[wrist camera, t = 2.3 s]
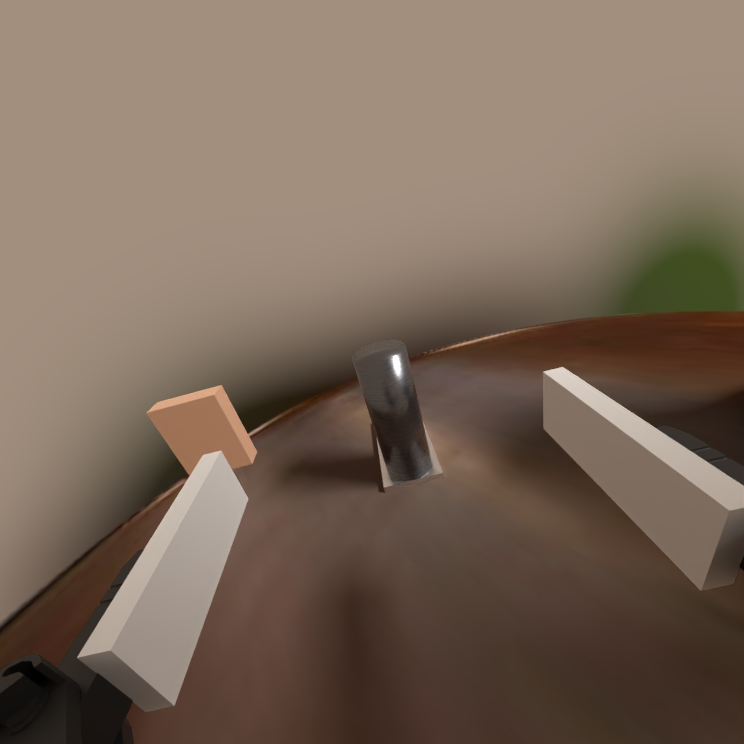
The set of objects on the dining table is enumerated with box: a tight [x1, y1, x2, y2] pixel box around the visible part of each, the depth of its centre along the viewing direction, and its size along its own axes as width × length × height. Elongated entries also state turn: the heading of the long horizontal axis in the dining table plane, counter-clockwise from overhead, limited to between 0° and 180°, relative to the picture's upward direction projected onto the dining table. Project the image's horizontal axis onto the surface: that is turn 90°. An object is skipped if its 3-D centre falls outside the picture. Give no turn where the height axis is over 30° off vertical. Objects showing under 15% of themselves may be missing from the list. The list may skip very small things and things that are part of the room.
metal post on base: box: [352, 340, 444, 493], centre depth 28 cm, size 5×10×12 cm, turn 4°
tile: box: [147, 385, 257, 476], centre depth 34 cm, size 7×2×9 cm, turn 94°
